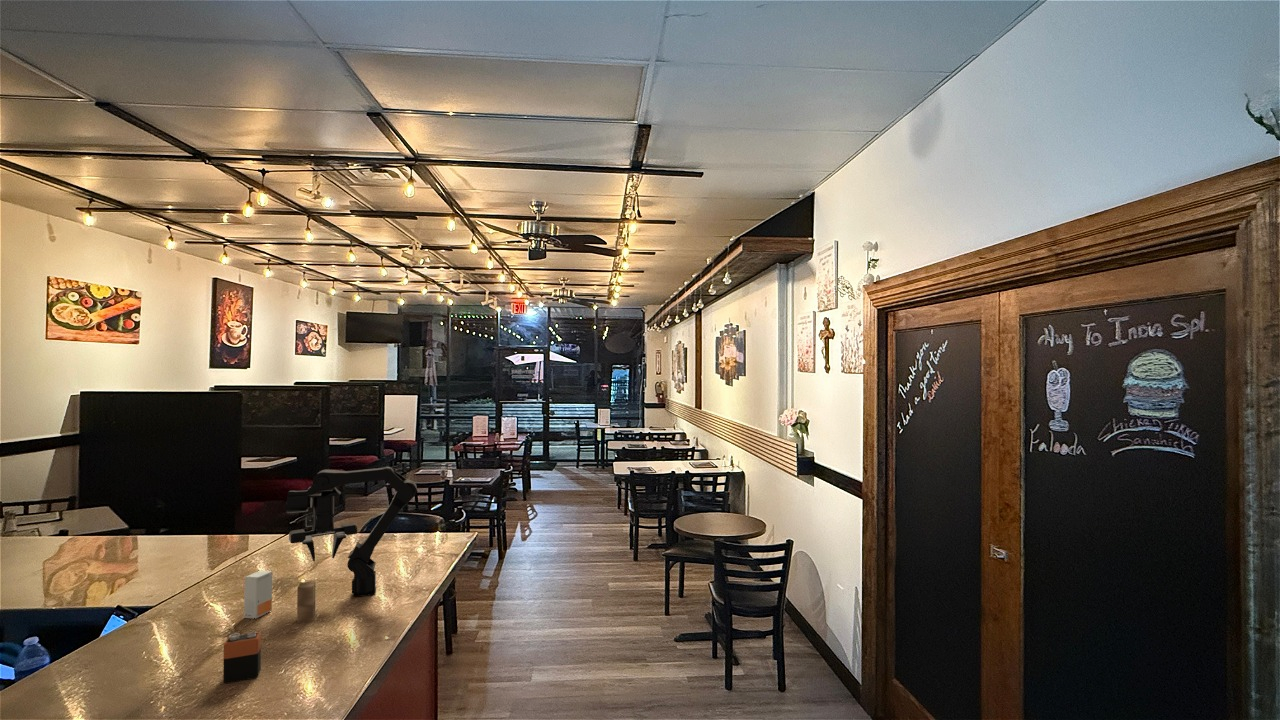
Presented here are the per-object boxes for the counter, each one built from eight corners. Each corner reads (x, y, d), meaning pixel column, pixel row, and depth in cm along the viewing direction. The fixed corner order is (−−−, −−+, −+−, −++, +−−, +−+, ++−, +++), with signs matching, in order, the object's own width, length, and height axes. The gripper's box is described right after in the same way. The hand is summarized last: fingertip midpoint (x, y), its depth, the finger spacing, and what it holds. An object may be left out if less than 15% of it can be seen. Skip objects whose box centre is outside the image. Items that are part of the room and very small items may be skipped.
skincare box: (256, 619, 173) (256, 577, 173) (243, 618, 174) (243, 576, 174) (272, 611, 179) (273, 570, 179) (260, 610, 179) (261, 570, 180)
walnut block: (315, 615, 175) (315, 581, 175) (312, 621, 171) (313, 586, 171) (299, 617, 174) (300, 583, 174) (297, 623, 170) (297, 587, 170)
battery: (227, 675, 140) (227, 632, 140) (261, 669, 143) (261, 627, 143) (222, 684, 136) (223, 640, 136) (257, 678, 139) (258, 635, 139)
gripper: (351, 502, 202) (350, 548, 201) (287, 509, 191) (286, 559, 190) (357, 508, 193) (357, 556, 192) (291, 516, 182) (290, 568, 181)
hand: (323, 559), depth 189 cm, fingers open, 5 cm apart
